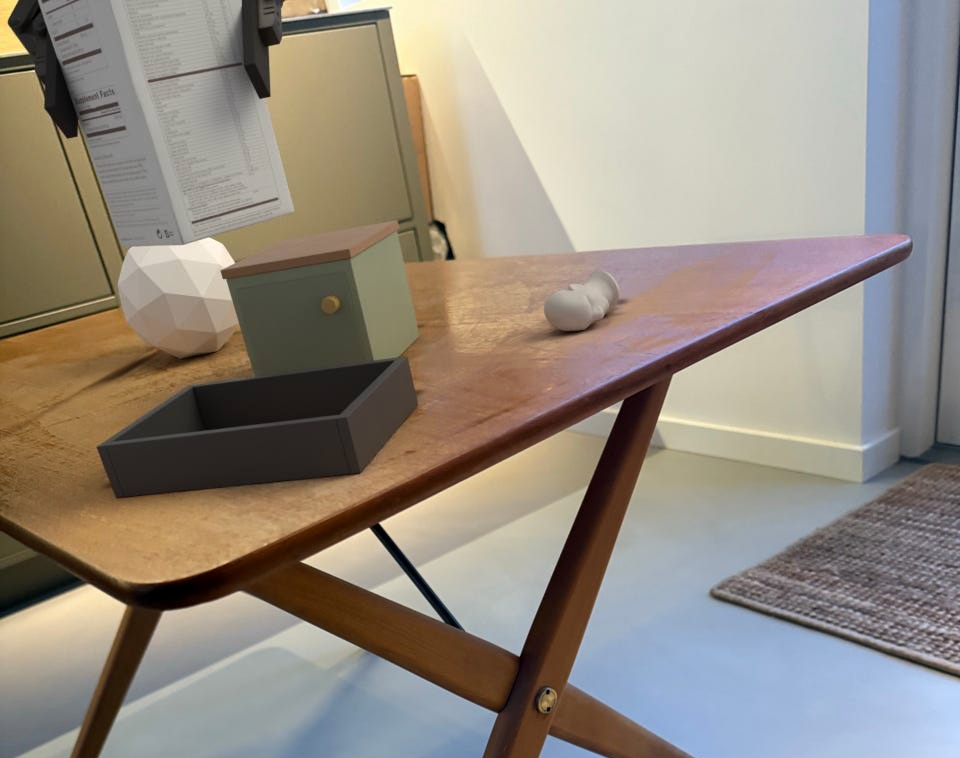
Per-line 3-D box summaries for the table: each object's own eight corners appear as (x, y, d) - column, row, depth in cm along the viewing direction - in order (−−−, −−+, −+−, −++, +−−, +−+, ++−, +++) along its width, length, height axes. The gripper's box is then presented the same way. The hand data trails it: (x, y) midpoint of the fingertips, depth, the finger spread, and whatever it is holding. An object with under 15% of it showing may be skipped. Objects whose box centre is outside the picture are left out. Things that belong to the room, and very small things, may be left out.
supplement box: (229, 218, 78) (156, -46, 69) (299, 213, 71) (228, -78, 63) (115, 249, 72) (22, -33, 64) (180, 246, 66) (86, -66, 58)
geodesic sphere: (72, 323, 116) (88, 207, 107) (159, 291, 127) (180, 183, 117) (175, 398, 115) (200, 288, 105) (254, 359, 125) (284, 255, 116)
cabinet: (251, 397, 95) (214, 272, 90) (311, 351, 108) (281, 240, 103) (376, 381, 92) (345, 250, 87) (422, 335, 105) (397, 219, 99)
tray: (115, 498, 76) (95, 446, 74) (203, 430, 88) (188, 385, 86) (360, 473, 70) (346, 416, 68) (418, 405, 83) (407, 355, 81)
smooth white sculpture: (572, 350, 93) (534, 329, 96) (634, 323, 97) (595, 304, 100) (575, 304, 90) (536, 285, 93) (639, 279, 94) (599, 261, 97)
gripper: (344, -135, 74) (360, 108, 68) (24, -60, 77) (14, 178, 71) (310, -248, 67) (326, 13, 61) (-40, -160, 70) (-58, 96, 64)
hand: (158, 103), depth 66 cm, fingers closed on supplement box, 13 cm apart
